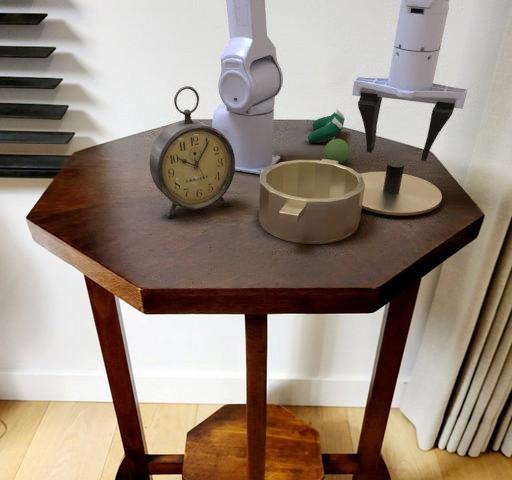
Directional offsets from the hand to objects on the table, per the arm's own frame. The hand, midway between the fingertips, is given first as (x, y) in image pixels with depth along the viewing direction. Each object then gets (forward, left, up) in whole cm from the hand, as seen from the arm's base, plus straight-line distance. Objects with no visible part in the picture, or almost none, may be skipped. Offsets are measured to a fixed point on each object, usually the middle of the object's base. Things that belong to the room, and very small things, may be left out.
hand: (396, 154), depth 77 cm
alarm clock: (-25, -15, -7) cm, 30 cm away
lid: (0, 0, -6) cm, 6 cm away
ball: (-11, +10, -5) cm, 15 cm away
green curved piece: (-16, +22, -7) cm, 28 cm away
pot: (-9, -12, -7) cm, 16 cm away
